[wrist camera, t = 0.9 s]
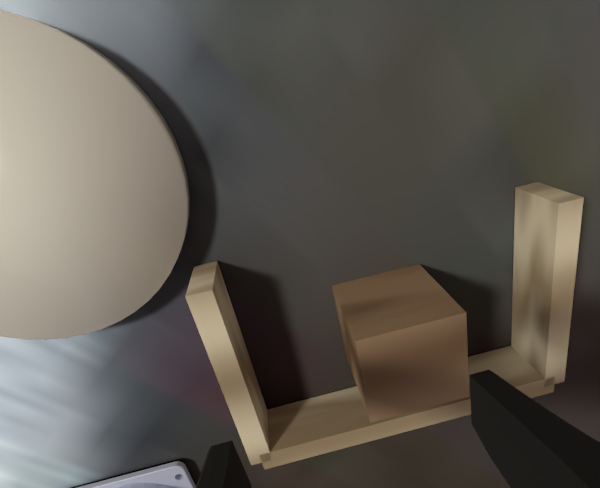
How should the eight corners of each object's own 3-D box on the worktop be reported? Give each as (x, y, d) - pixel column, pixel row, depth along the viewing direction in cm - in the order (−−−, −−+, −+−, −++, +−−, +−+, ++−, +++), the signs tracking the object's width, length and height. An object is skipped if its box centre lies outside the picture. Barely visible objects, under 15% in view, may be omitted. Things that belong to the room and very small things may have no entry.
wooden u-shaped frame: (528, 355, 25) (563, 389, 22) (253, 427, 24) (254, 472, 21) (537, 182, 20) (583, 197, 17) (194, 266, 19) (185, 296, 16)
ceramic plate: (226, 287, 20) (224, 299, 19) (-41, 353, 19) (-58, 370, 18) (120, -27, 14) (110, -37, 13) (-261, 55, 14) (-305, 52, 13)
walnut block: (424, 334, 23) (469, 396, 18) (345, 355, 23) (370, 422, 18) (418, 263, 21) (466, 312, 16) (331, 285, 21) (355, 341, 16)
